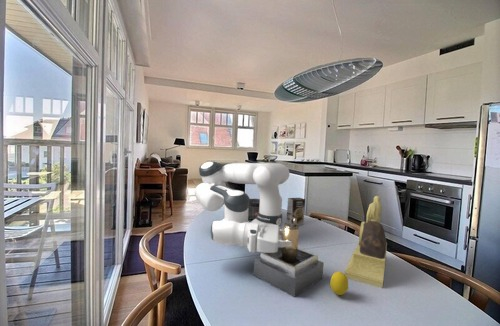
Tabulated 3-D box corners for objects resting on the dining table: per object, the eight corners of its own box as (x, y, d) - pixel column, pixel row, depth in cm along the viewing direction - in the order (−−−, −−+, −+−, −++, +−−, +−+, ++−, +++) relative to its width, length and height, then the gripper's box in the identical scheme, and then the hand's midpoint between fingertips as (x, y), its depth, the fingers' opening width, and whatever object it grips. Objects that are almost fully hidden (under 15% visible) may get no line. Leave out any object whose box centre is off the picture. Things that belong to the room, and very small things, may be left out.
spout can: (278, 259, 94) (281, 216, 93) (287, 255, 99) (290, 214, 97) (290, 265, 91) (294, 220, 89) (299, 260, 95) (302, 217, 93)
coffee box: (292, 226, 156) (293, 199, 155) (285, 223, 162) (287, 197, 160) (304, 224, 160) (305, 199, 159) (297, 221, 166) (299, 197, 165)
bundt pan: (226, 215, 173) (227, 200, 172) (255, 210, 191) (255, 196, 190) (253, 225, 154) (254, 209, 153) (282, 218, 172) (283, 203, 171)
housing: (253, 275, 95) (254, 252, 94) (283, 261, 108) (284, 241, 107) (294, 297, 82) (296, 271, 82) (322, 278, 95) (324, 255, 95)
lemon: (326, 290, 87) (328, 267, 87) (342, 290, 88) (344, 267, 87) (333, 300, 82) (335, 275, 81) (350, 300, 82) (352, 276, 82)
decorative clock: (354, 252, 121) (360, 189, 119) (385, 259, 115) (391, 193, 113) (344, 277, 97) (350, 198, 95) (382, 288, 91) (390, 204, 89)
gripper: (255, 234, 106) (289, 237, 104) (249, 254, 86) (291, 259, 84) (256, 219, 106) (290, 221, 104) (250, 236, 85) (292, 240, 84)
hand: (291, 238), depth 94 cm, fingers open, 8 cm apart
